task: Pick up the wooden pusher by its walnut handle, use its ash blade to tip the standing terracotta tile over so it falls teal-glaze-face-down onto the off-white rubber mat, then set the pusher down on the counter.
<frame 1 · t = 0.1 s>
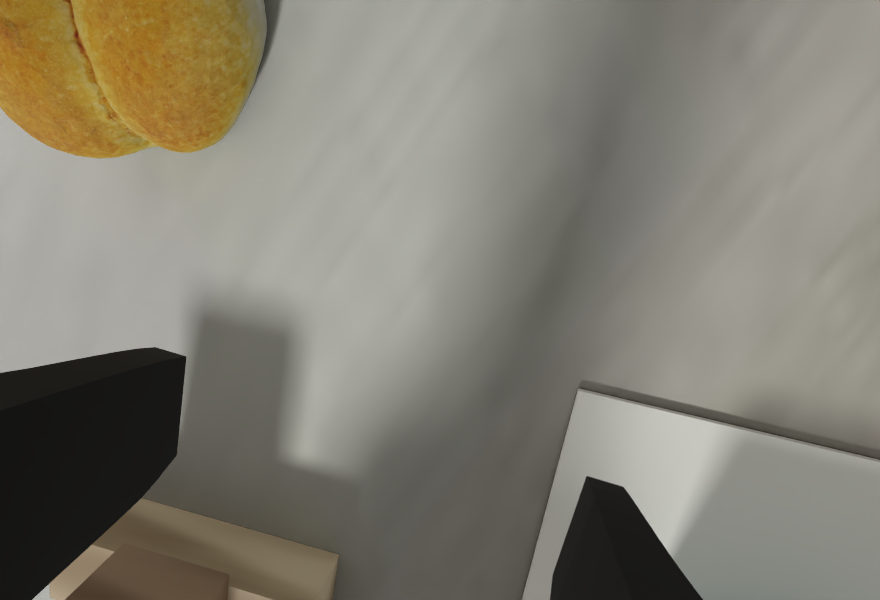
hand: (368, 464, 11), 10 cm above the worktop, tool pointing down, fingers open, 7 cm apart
bread roll: (142, 27, 20), on the worktop
wooden pusher: (217, 549, 25), on the worktop
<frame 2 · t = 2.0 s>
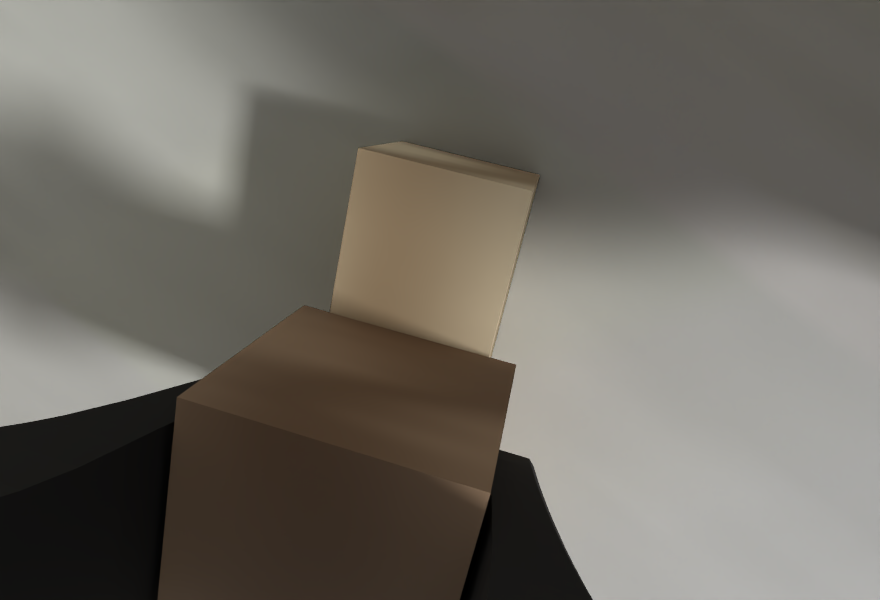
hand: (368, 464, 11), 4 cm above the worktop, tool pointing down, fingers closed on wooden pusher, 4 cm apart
wooden pusher: (421, 370, 15), on the worktop, touching gripper
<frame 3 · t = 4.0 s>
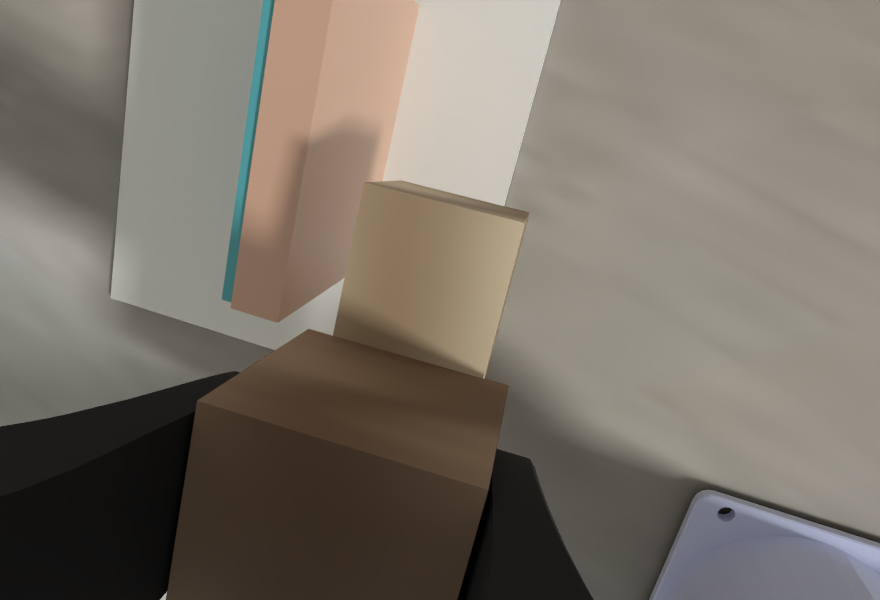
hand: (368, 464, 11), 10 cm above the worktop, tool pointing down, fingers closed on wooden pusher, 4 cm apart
rubber mat: (315, 121, 20), on the worktop
wooden pusher: (415, 397, 15), point 6 cm above the worktop, touching gripper
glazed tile: (372, 137, 20), resting on rubber mat
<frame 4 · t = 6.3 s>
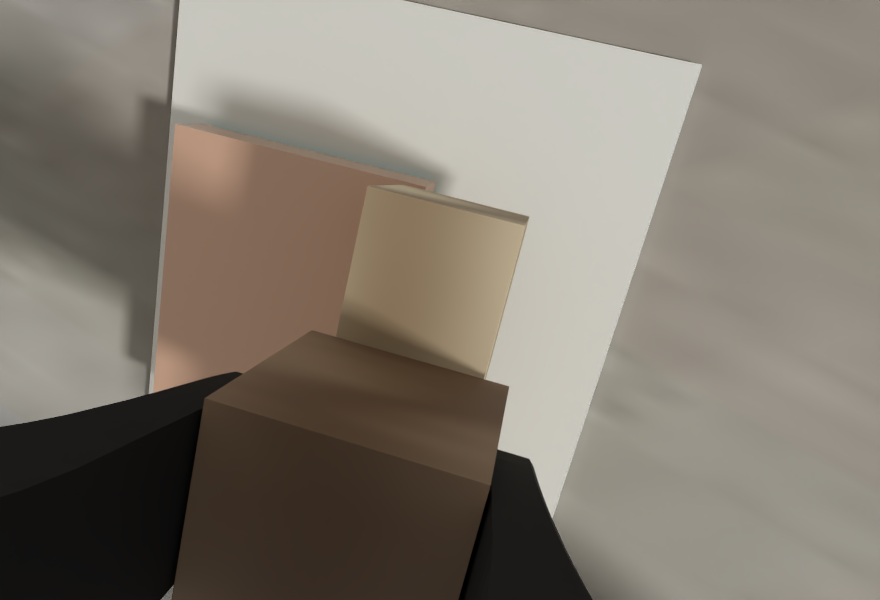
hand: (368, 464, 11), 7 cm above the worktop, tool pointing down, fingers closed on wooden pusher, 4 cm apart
rubber mat: (372, 310, 18), on the worktop
wooden pusher: (416, 399, 16), point 3 cm above the worktop, tilted 6°, touching gripper
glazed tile: (399, 332, 17), point 1 cm above the worktop, tilted 90°, touching rubber mat
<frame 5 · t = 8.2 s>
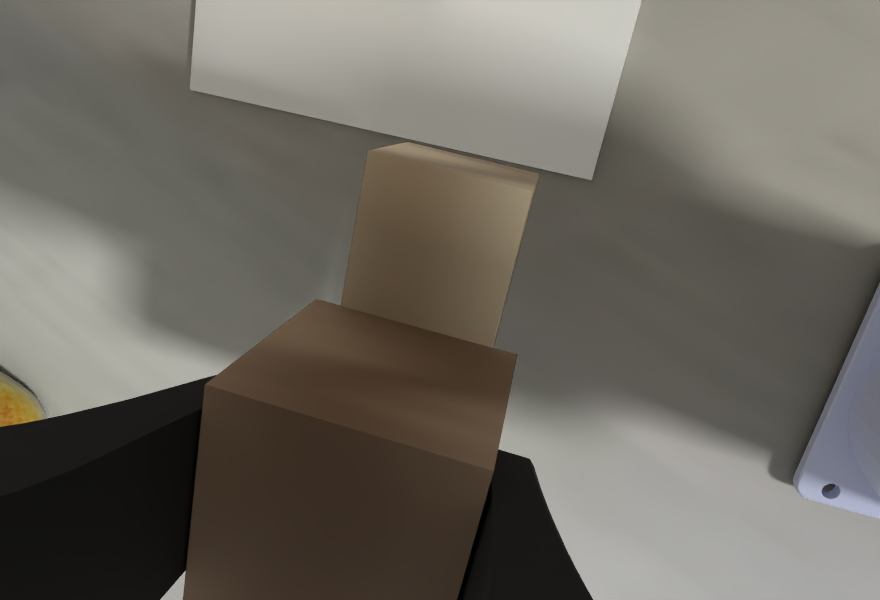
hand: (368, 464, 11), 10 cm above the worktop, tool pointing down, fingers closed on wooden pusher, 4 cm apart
wooden pusher: (426, 360, 15), point 5 cm above the worktop, touching gripper
when the fingers open (5 cm above the worktop, at t = 9.9 s): wooden pusher stays where it is, on the worktop.
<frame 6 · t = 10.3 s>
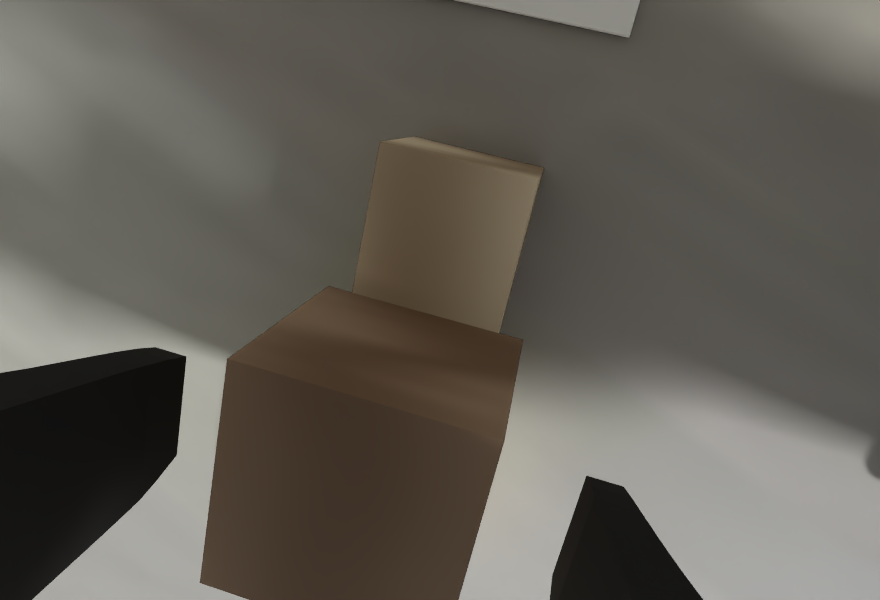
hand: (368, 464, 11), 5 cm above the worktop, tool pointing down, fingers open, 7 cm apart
wooden pusher: (432, 350, 16), on the worktop
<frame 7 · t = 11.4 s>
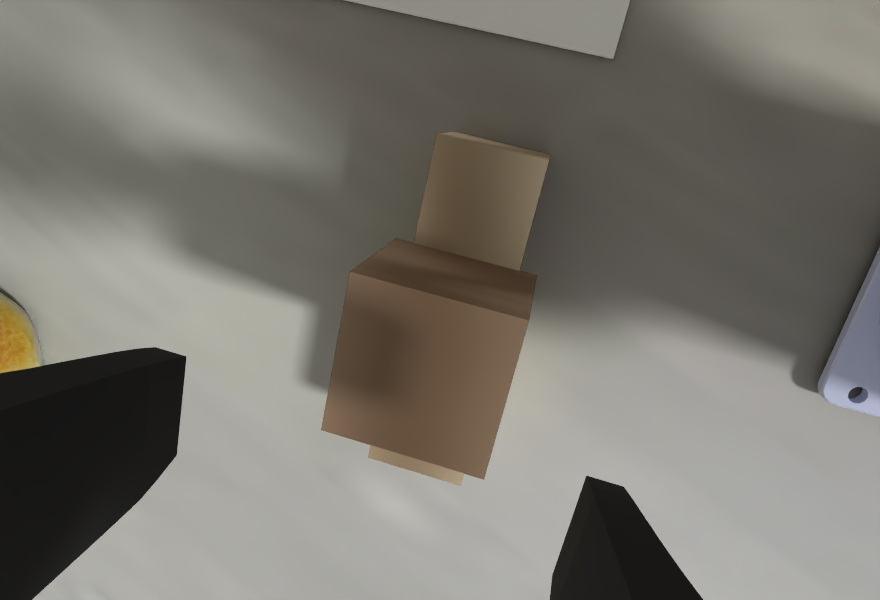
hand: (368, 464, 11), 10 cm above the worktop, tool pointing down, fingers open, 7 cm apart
wooden pusher: (465, 295, 21), on the worktop
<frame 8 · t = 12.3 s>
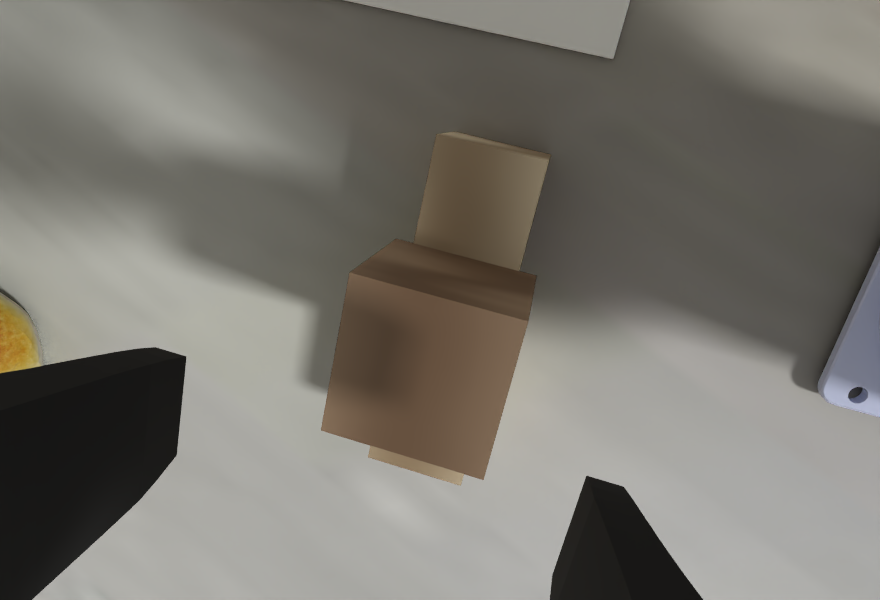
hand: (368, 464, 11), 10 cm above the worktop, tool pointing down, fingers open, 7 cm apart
wooden pusher: (465, 295, 21), on the worktop
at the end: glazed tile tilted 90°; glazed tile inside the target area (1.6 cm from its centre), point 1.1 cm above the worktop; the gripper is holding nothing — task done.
